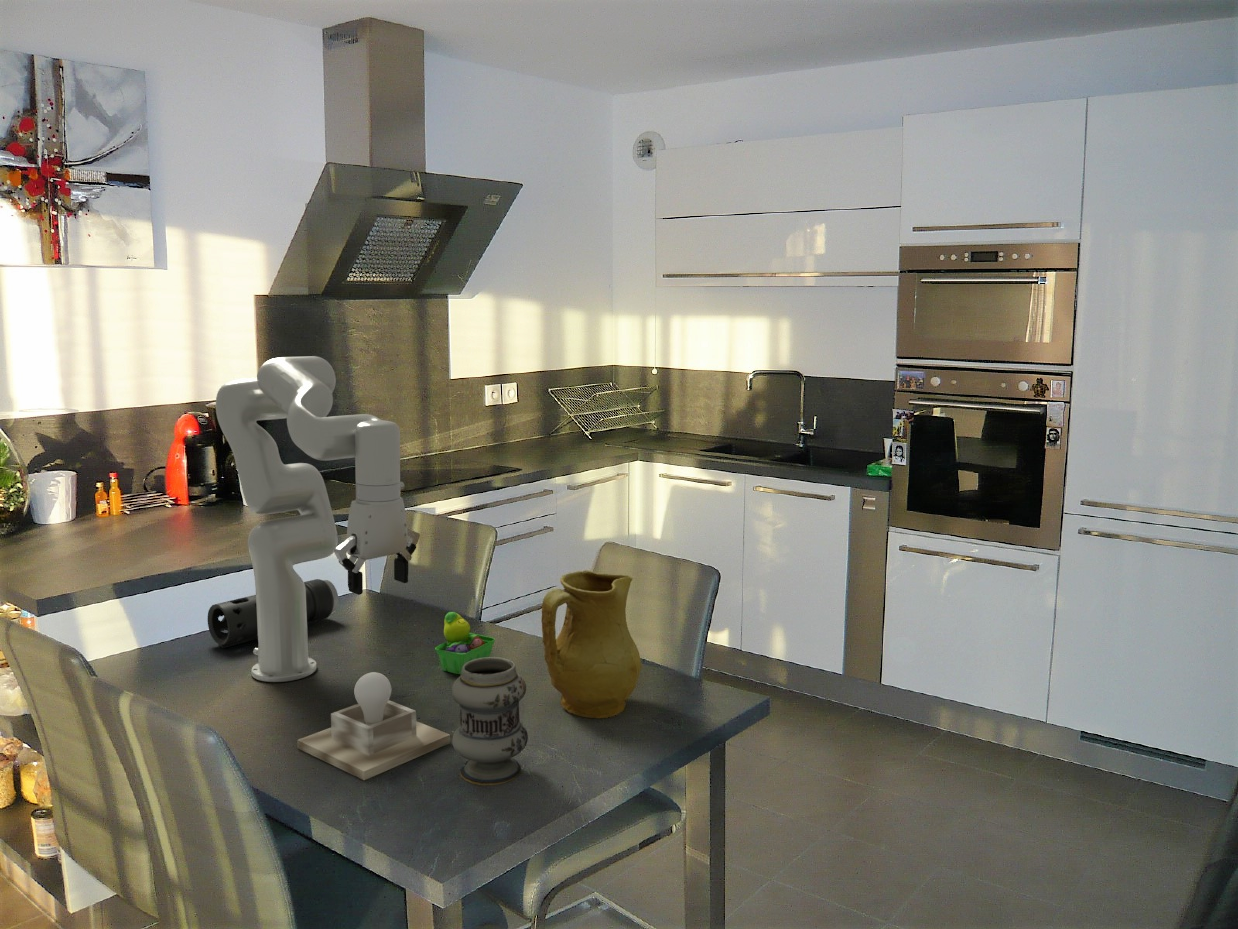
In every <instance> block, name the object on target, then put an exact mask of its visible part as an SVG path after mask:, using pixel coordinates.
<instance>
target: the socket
mask: <svg viewBox="0 0 1238 929" xmlns="http://www.w3.org/2000/svg"><path fill="white" fill-rule="evenodd" d="M330 726H331V727H329V728H326V729H323V730H321V731H317V732H315V733H312V734H309V735H307V736H304V737H301V738H299V739H297V749H298V750H300V751H302V752H304V753H306V754H309V755H311V756H312V757H315V758H317V759H319V760H321V761H324V762H325V763H328V764H330V765H332V766H334V767H336V768H337V769H339V770H341V771H344V772H346V773H348V774H350V775H352V776H355V777H356V778H358V779H360V780H363V781H366V780H369V779H371V778H373V777H375V776H377V775H379V774H382V773H385V772H387V771H388V770H391V769H393V768H396V767H399V766H401V765H403V764H405V763H407V762H411V761H412V760H413V759H416V758H418V757H422V756H423V755H426V754H427V753H430V752H433V751H435V750H437V749H439V748H441V747H442V748H443V746H447V745H448V744H450V743H451V734H449V733H447V732H445V731H442V730H439V729H437V728H435V727H432V726H430V725H427V724H424V723H423V722H419V721H418V720H417V710H415V709H412V708H410V707H407V706H405V705H402V704H399V703H397V702H395V701H393V700H390V699H389V700H388V702H387V704H386V706H385V709H384V713H383V720H382V721H381V722H378V723H376V724H373V725H370V726H368V725H366V722H365V721H364V714H363V711H362V709H361V707H360V705H359V704H358V703H356V704H353V705H351V706H347V707H345V708H343V709H340V710H337V711H334V712H332V713H330Z"/></svg>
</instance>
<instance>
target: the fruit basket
mask: <svg viewBox="0 0 1238 929" xmlns="http://www.w3.org/2000/svg"><path fill="white" fill-rule="evenodd" d="M443 622H444V625H443V635H444V638H445V639H446V641H445V642H443V643H441V644H439V645H437V646H436V647H435V651H436V654H437V655H438V659H439V662H440V666H441V668H442V671H444V672H448V673H451V674H458V675H460V676H461V671H462V667H463V665H464V664H465V663H467V662H469V661H471V660H474V659H478V658H484V657H491V653H492V649H493V645H494V644H495V640H496V638H494V637H492V636H491V637H490V636H486V635H482V634H477V633H472V632H470V631H471V626H470V623H469V622H468V621H467V620H466V619H464V618H463V617H462V616H461V615H460V614H458V613H457V612H455V611H449V612H447V613H446V615H445V616H444V621H443Z"/></svg>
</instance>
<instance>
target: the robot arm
mask: <svg viewBox="0 0 1238 929" xmlns="http://www.w3.org/2000/svg"><path fill="white" fill-rule="evenodd" d="M336 382H337V377H336V372H335V370H334V369H333V366H332V365H331V364H330V363H329V361H328V360H327V359H324V358H323V357H320V356H317V355H312V356H307V355H306V356H281V357H275V358H274V357H273V358H271V359H269V360H267V361H265V362H263V364H262V365H261V366H260V367H259V369H258V370H257V374H256V377H248V378H240V379H235V380H232V381H231V380H230V381H228V382H226V383H224V384H223V385H221V387H220V388H219V389H218V391H217V393H216V397H215V413H216V418H217V422H218V425H219V427H220V429H221V431H222V433H223V435H224V438H225V439H226V441H227V442H228V445H229V447H230V449H231V451H232V454H233V457H234V461H235V462H234V463H235V467H236V470H237V474H238V477H239V479H238V480H239V482H240V485H241V490H242V493H243V497H244V500H245V503H246V506H247V507H248V509H249V511H250V512H251V513H253V514H256V515H271V514H272V515H273V514H279V513H285V512H291V511H292V512H293V511H298V512H299V514H300V515H295V516H294V515H293V516H287V517H280V518H275V519H270V520H269V519H268V520H265V521H262V522H260V523H258V524H256V525H255V526H254V527H252V529H251V530H250V531H249V534H248V537H247V548H248V551H249V555H250V559H251V564H252V570H253V576H254V587H255V595H256V605H257V626H258V639H257V642H258V645H257V646H258V647H255V648H253V651H252V653H253V654H254V655H256V656H257V660H258V662H257V663H255V664H254V665H253V666H252V667H251V670H250V671H251V672H250V673H251V674H250V675H251V677H253V678H254V679H256V680H258V681H260V682H268V683H283V682H291V681H296V680H300V679H304V678H306V677H309V676H310V675H312V674H313V673H314V672H316V671H317V661H316V660H315V659H313V658H311V657H309V645H308V644H309V643H308V641H309V640H308V626H307V611H306V589H305V584H304V582H305V581H304V580H303V578H302V577H301V576H300V575H299V574H298V572H296V570H295V569H294V566H295V565H298V564H303V563H307V562H313V561H317V560H322V559H325V558H328V557H330V556H332V555H333V554H334V555H335V557H336V558H337V560H338V563H339V565H341V566H342V567H343V569H344V570H346V571H347V588H348V591H349V592H350V593H353V594H355V595H358V596H359V595H362V594H363V593H364V592H363V588H364V583H363V582H364V581H363V580H364V578H363V576H364V575H363V572H362V571H361V569H362V567H363V565H364V564H365V562H366V561H368V560H369V561H370V560H373V559H374V560H375V559H378V558H382V557H383V558H384V557H388V556H392V555H394V556H396V557H394V560H393V574H394V575H393V579H394V580H395V581H397V582H400V583H403V584H407V583H408V582H409V562H410V561H411V560H412V558H413V557H412V555H413V554H414V552H415V551H416V550H417V544H418V542H419V540H420V537H421V534H420V533H419V532H417V531H415V530H412V529H410V528H408V524H407V522H408V521H407V513H406V508H405V507H406V506H405V503H404V498H403V497H401V490H404V489H405V483H404V482H403V481H401V430H400V429H401V428H400V426H399V425H398V424H397V423H396V422H394V421H390V420H384V419H381V418H379V417H377V416H376V415H373V414H369V413H368V414H367V413H362V414H360V413H359V414H347V415H346V414H345V415H335V416H334V415H333V416H328V415H329V413H330V412H331V411H332V407H333V402H334V396H333V392H334V390H335V387H336V384H337V383H336ZM280 419H281V420H282V419H283V420H284V419H286V426H287V431H288V433H289V434H288V435H289V437H290V438H291V441H292V443H294V445H295V446H296V447H298V448H299V449H300V450H301V451H302V452H304V453H305V454H306V455H307V456H309V457H310V458H312V459H315V460H317V461H324V462H325V461H334V460H342V459H352V458H355V462H354V463H355V466H354V467H355V500H351V503H350V506H349V512H348V518H347V526H346V529H347V530H346V539H345V540H344V541H343V542H341V543H340V544H339V545H338V541H339V540H338V531H337V530H338V529H337V527H336V522H335V518H334V515H333V510H332V507H331V502H330V499H329V495H328V491H327V487H326V484H325V481H324V478H323V476H322V474H321V472H320V471H319V470H318V468H316V466H314V465H312V464H311V463H306V462H305V463H304V462H297V463H288V464H284V463H283V461H282V460H281V459H282V458H281V456H280V452H279V448H278V445H277V442H276V441H275V439H274V438H273V437H272V435H271V434H270V433H269V432H268V431H267V430H266V429H264V428H263V427H262V426H261V425H259V424H258V422H257V421H266V420H267V421H269V420H280ZM348 555H349V557H348Z"/></svg>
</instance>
